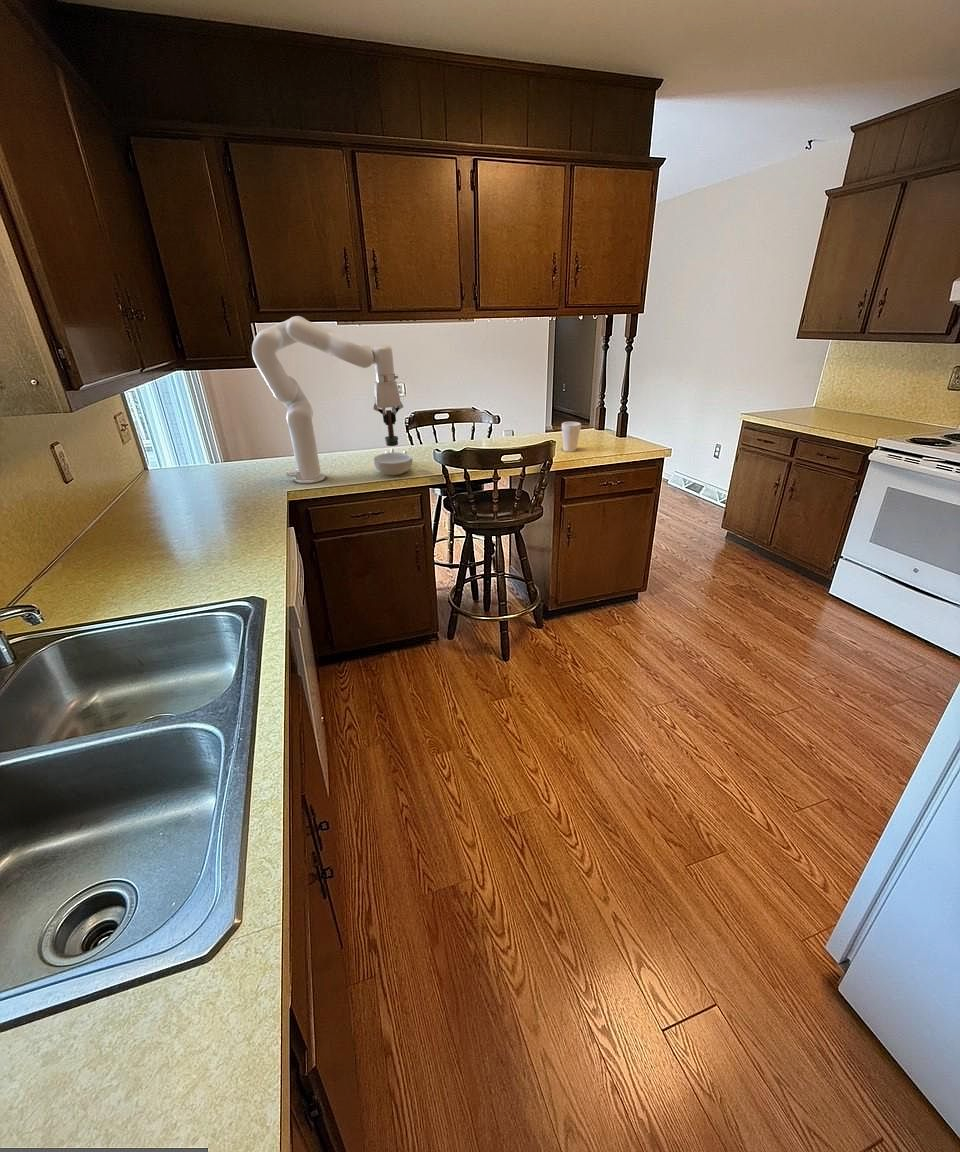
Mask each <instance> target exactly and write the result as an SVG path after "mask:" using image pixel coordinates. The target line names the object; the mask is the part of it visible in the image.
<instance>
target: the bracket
mask: <svg viewBox="0 0 960 1152" xmlns="http://www.w3.org/2000/svg"><path fill="white" fill-rule="evenodd" d="M385 453H396V452H395V449H394V447H390V450H389V451H388V450H385V452H384V454H385ZM402 453H406V454H408V451H407V450H406V449H403V451H402Z"/></svg>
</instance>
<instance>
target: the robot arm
mask: <svg viewBox="0 0 960 1152" xmlns="http://www.w3.org/2000/svg"><path fill="white" fill-rule="evenodd" d="M296 343H300V344H304V345H305V346H309V347H311V348H314V349H316V350H318V351H321V352H323V353H325V354H327V355H330V356H333V357H335V358H337V359H339V360H342V361H344V362H346V363H349V364H352V365H354V366H356V367H359V368H362V369H366V368H370V367H372V365H374V371H375V372H374V373H375V380H376V381H375V382H374V387H373V392H374V394H373V395H374V404H373V407H372V409H373V410H374V411H376V412H379V413H380V414H381V415H382V420H383V423H384V424H385V426H387V425H388V420H387V415H386V408H391V411H392V420H393V425H396V422H397V417H396V415H397V414H398V412H399V411H400V410H401V409H403V408H404V404H403V403H402V401H401V396H400V391H399V385H398V382H397V380H396V379H399V375H398V374H395V367H394V357H393V355H394V354H393V348H392V347H391V346H390V345H376V346H375V345H374V346H373V345H372V346H371V345H360V344H358V343H356V342H353V341H350V340H348V339H346V338H344V337H342V336H340V335H339V334H338V333H336V332H335V331H333V330H332V329H329V328H327V327H324V326H321V325H319V324H317V323H315V322H312V321H309V320H308V319H306V318H305V317H304V316H300V315H295V316H291V317H290V318H288V319H286V320H284V321H281V322H278V323H276V324H274V325H271V326H268V327H265V328H262V329H261V330H260V331H259V332H258V333H257V334H256V336H255V337H254V339H253V341H252V344H251V354H252V359H253V361H254V363H255V366H256V367H257V369H258V370H259V373H260V374H261V376H262V377H263V379H264V381H265V382H266V385H267V386H268V388H269V390H270V391H271V393H272V394H273V397H274V398H275V399H276V400H277V401H278V402H280V403H282V404H283V405H284V406H285V408H286V410H287V411H286V423H287V427H288V430H289V435H290V440H291V445H292V450H293V456H294V460H295V461H294V462H295V466H296V469H295V470H293V471H286V477H288V478H294V481H295V482H297V483H298V484H315V483H319V482H321V481H324V480H325V479H326V475H325V474H324V473H323V472H321V465H320V459H319V453H318V447H317V442H316V436H315V430H314V426H313V415H314V410H313V407H312V405H311V404H310V402H309V400H308V398H307V397H306V394H305V393H304V391H303V389H302V388H301V386H300V385H299V383H298V381H296V379H295V378H294V377H292V376H290V375H288V373H287V372H286V371H285V369H284V367H283V365H282V363H281V362H280V360H279V359H278V356H277V352H279V350H281V349H285V348H286V347H289V346H292V345H294V344H296Z"/></svg>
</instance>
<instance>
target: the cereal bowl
mask: <svg viewBox="0 0 960 1152" xmlns="http://www.w3.org/2000/svg"><path fill="white" fill-rule="evenodd" d="M373 465H374V468H375V469H376V470H377V471H379V472H380V473H382V474H385V475H387V476H400V475H402V474H403V473H406V472H408V471H409V470H410V469H411V468H412V466H413V456H412V455H411V454H408V453H407V454H406V453H403V452H395V453H385V452H384V453H381V454H377V455H376V456H374V457H373Z"/></svg>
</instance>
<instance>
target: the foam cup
mask: <svg viewBox="0 0 960 1152" xmlns="http://www.w3.org/2000/svg"><path fill="white" fill-rule="evenodd" d="M581 429H582V423H581V422H578V421H564V422H562V423H561V437H562V450H563V451H565V452H576V451H577V446H578V441H579V437H580V432H581Z"/></svg>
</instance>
